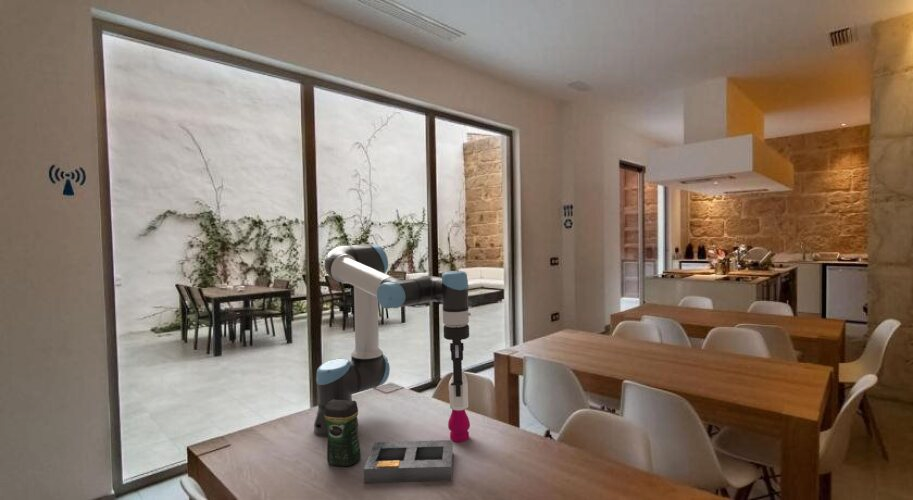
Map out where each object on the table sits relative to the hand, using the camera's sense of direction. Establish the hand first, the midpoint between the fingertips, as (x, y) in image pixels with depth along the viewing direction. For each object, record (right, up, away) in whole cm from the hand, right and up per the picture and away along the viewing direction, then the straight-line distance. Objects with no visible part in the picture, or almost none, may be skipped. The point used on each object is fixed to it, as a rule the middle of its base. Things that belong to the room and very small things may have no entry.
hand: (458, 401), depth 137 cm
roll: (0, -2, 0) cm, 2 cm away
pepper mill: (0, -18, +17) cm, 24 cm away
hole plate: (-14, -19, -1) cm, 23 cm away
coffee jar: (-35, -20, +5) cm, 40 cm away
